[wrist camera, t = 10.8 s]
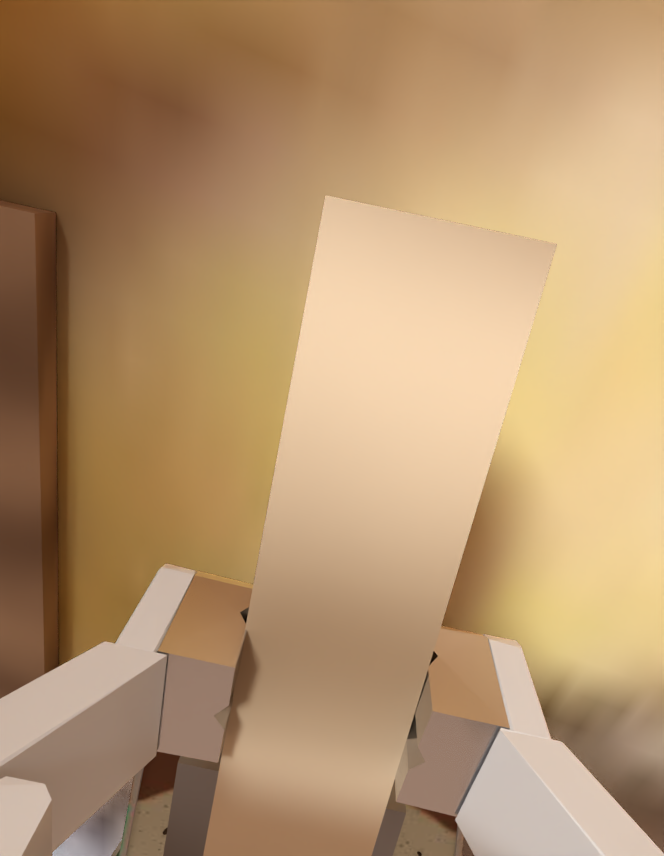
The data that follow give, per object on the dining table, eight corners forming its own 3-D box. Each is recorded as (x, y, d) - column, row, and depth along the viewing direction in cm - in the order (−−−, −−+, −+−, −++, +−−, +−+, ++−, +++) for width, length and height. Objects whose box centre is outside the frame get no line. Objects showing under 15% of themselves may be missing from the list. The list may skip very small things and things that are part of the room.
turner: (278, 211, 8) (229, 175, 5) (554, 269, 8) (653, 264, 5) (161, 921, 13) (100, 1109, 10) (343, 961, 13) (335, 1163, 10)
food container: (163, 572, 21) (151, 775, 23) (94, 686, 15) (89, 941, 18) (474, 610, 21) (429, 806, 24) (528, 736, 15) (460, 979, 18)
